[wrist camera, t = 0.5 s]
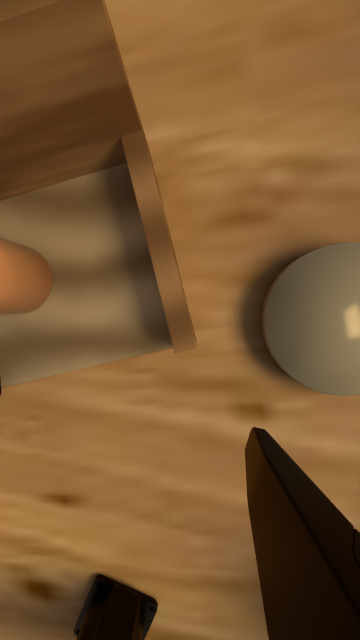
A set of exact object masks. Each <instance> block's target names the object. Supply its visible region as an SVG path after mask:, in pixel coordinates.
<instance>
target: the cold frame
mask: <svg viewBox="0 0 360 640" xmlns="http://www.w3.org/2000/svg"><path fill="white" fill-rule="evenodd" d="M0 237H1V238H4V239H7V240H10V241H13V242H16V243H19V244H22V245H24V246H27V247H30V248H32V249H34V250H36V251H37V252H39V253H40V254H41V255H42V256H43V257H44V258H45V260H46V261H47V263H48V265H49V267H50V270H51V273H52V288H51V292H50V294H49V297H48V298H47V300H46V301H45V302H44V304H43V305H42V306H41V307H39V308H38V309H36V310H34V311H32V312H29V313H24V314H5V315H0V376H1V388H4V387H8V386H13V385H17V384H21V383H25V382H29V381H34V380H38V379H42V378H46V377H51V376H55V375H59V374H63V373H67V372H72V371H76V370H80V369H84V368H89V367H93V366H97V365H101V364H105V363H110V362H114V361H118V360H122V359H127V358H131V357H135V356H139V355H143V354H148V353H152V352H156V351H160V350H165V349H169V348H173V347H174V351H175V353H177V352H181V351H185V350H190V349H194V348H196V338H195V334H194V330H193V326H192V322H191V318H190V314H189V310H188V306H187V302H186V298H185V293H184V289H183V285H182V281H181V277H180V273H179V269H178V265H177V261H176V257H175V253H174V249H173V245H172V241H171V237H170V233H169V229H168V225H167V221H166V216H165V212H164V208H163V204H162V200H161V196H160V192H159V188H158V184H157V180H156V176H155V172H154V168H153V164H152V160H151V156H150V152H149V148H148V144H147V140H146V137H145V134H144V130H143V127H142V124H141V121H140V117H139V114H138V111H137V107H136V104H135V101H134V98H133V94H132V91H131V88H130V84H129V81H128V78H127V75H126V71H125V68H124V65H123V61H122V58H121V55H120V52H119V48H118V45H117V42H116V38H115V35H114V32H113V28H112V25H111V22H110V19H109V15H108V12H107V9H106V5H105V2H104V0H0Z"/></svg>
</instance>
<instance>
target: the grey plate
mask: <svg viewBox="0 0 360 640" xmlns="http://www.w3.org/2000/svg"><path fill="white" fill-rule="evenodd" d="M260 326H261V333H262V338H263V341H264V344H265V346H266V348H267V350H268V352H269V354H270V356H271V357H272V358H273V360H274V361H275V362H276V364H277V365H278V366H279V367H280V368H281V369H282V370H283V371H285V372H286V373H287V374H288V375H290V376H291V377H292V378H294V379H295V380H296V381H298V382H299V383H301V384H302V385H304V386H306V387H308V388H310V389H312V390H315V391H318V392H321V393H324V394H329V395H336V396H353V395H359V394H360V243H349V242H347V243H336V244H332V245H327V246H324V247H321V248H318V249H316V250H314V251H311V252H309V253H307V254H305V255H303V256H301V257H299V258H297V259H295V260H294V261H292V262H291V263H289V264H288V265H287V266H286V267H285V268H283V269H282V270H281V271H280V272H279V274H278V275H277V276H276V277H275V278H274V280H273V281H272V283H271V284H270V286H269V288H268V290H267V292H266V294H265V297H264V300H263V303H262V308H261V315H260Z"/></svg>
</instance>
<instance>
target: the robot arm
mask: <svg viewBox="0 0 360 640" xmlns="http://www.w3.org/2000/svg"><path fill="white" fill-rule="evenodd" d="M0 395H1V376H0ZM245 462H246V481H247V499H248V508H249V515H250V521H251V528H252V534H253V541H254V547H255V554H256V560H257V566H258V573H259V579H260V586H261V592H262V599H263V605H264V612H265V618H266V625H267V631H268V637H269V640H360V533H359V531H358V530H357V529H354V527H353V525H352V524H351V523H350V522H349V521H348V520H347V519H346V517H345V516H344V515H343V514H342V513H341V512H340V511H339V510H338V509H337V508H336V506H335V505H334V504H333V503H332V502H331V501H330V500H329V499H328V498H327V497H326V496H325V494H324V493H323V492H322V491H321V490H320V489H319V488H318V487H317V486H316V485H315V484H314V482H313V481H312V480H311V479H310V478H309V477H308V476H307V475H306V474H305V473H304V472H303V470H302V469H301V468H300V467H299V466H298V465H297V464H296V463H295V462H294V461H293V460H292V458H291V457H290V456H289V455H288V454H287V453H286V452H285V451H284V450H283V449H282V447H281V446H280V445H279V444H278V443H277V442H276V441H275V440H274V439H273V438H272V437H271V435H270V434H269V433H268V432H267V431H266V430H264V429H261V428H256V427H253V428H252V429H251V431H250V435H249V438H248V441H247V444H246V448H245ZM157 607H158V603H157V601H156V600H155V599H152V598H150V597H148V596H146V595H144V594H141V593H139V592H137V591H135V590H133V589H131V588H128V587H126V586H124V585H122V584H120V583H117V582H115V581H113V580H111V579H109V578H107V577H104V576H102V575H98V576H96V578H95V580H94V583H93V585H92V588H91V590H90V592H89V595H88V597H87V600H86V602H85V604H84V607H83V609H82V612H81V614H80V617H79V619H78V621H77V624H76V626H75V629H74V634H75V635H76V636H77V639H76V640H144V639H145V637H146V634H147V632H148V630H149V628H150V625H151V623H152V621H153V619H154V616H155V614H156V612H157Z"/></svg>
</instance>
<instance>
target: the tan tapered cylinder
mask: <svg viewBox="0 0 360 640" xmlns="http://www.w3.org/2000/svg"><path fill="white" fill-rule="evenodd" d="M51 288H52V273H51V270H50V267H49V265H48V263H47V261H46V260H45V258H44V257H43V256H42V255H41V254H40V253H39V252H37V251H36V250H34V249H32V248H30V247H27V246H24V245H22V244H19V243H16V242H13V241H10V240H7V239H4V238H1V237H0V315H5V314H24V313H29V312H32V311H34V310H36V309H38V308H39V307H41V306H42V305H43V304H44V302H45V301H46V300H47V298H48V297H49V294H50V292H51Z"/></svg>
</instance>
